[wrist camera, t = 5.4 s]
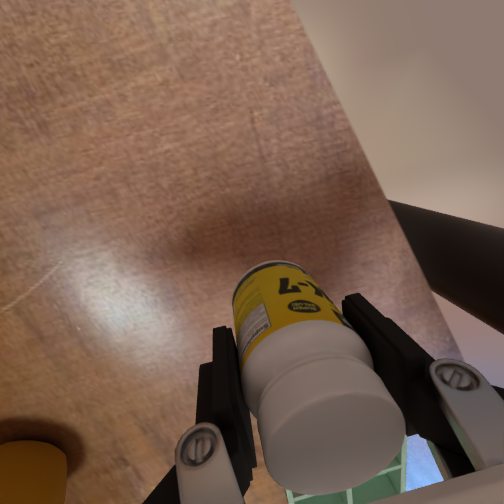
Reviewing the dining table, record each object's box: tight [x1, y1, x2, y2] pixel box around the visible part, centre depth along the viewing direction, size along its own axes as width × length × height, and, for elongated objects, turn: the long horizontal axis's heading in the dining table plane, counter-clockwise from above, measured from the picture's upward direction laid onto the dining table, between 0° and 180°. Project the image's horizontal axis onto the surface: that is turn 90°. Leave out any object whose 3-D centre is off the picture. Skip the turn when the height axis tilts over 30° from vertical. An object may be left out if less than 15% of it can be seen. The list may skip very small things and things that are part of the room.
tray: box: [285, 434, 407, 504], centre depth 32 cm, size 15×22×4 cm
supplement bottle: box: [232, 260, 406, 495], centre depth 11 cm, size 5×5×8 cm
